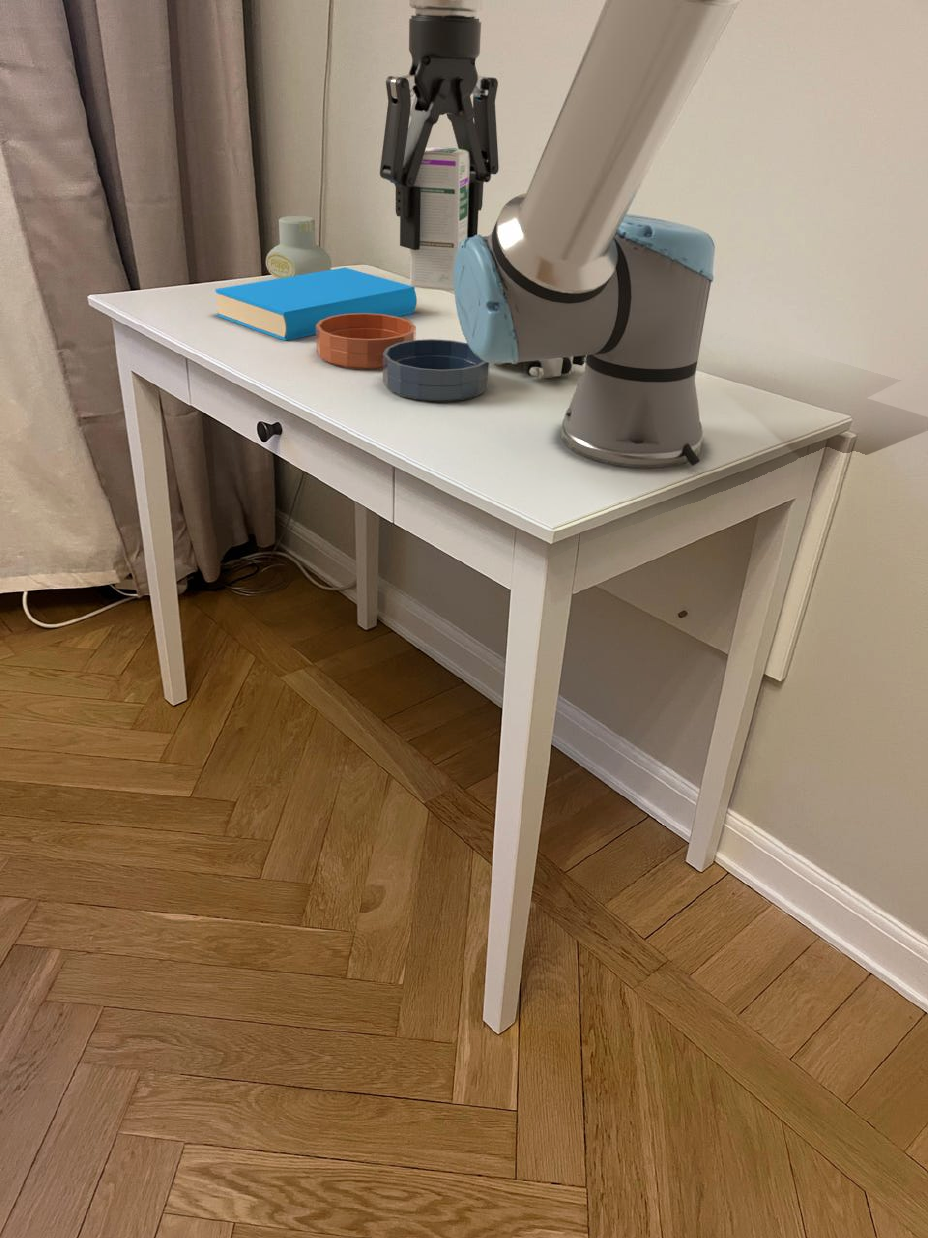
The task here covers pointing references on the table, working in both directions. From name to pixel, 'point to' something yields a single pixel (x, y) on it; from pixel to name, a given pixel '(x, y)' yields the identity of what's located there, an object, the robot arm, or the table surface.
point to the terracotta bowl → (360, 338)
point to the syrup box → (441, 216)
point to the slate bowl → (434, 370)
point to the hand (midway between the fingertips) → (439, 243)
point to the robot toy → (551, 366)
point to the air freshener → (297, 249)
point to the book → (312, 301)
